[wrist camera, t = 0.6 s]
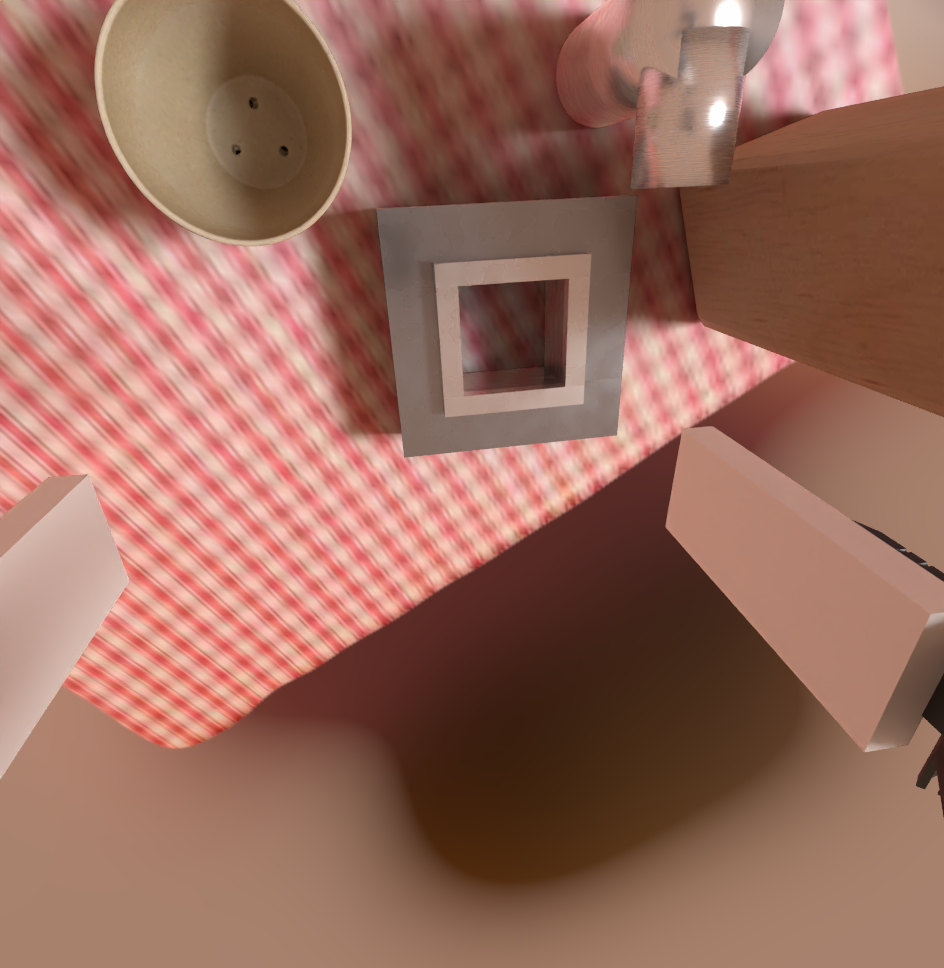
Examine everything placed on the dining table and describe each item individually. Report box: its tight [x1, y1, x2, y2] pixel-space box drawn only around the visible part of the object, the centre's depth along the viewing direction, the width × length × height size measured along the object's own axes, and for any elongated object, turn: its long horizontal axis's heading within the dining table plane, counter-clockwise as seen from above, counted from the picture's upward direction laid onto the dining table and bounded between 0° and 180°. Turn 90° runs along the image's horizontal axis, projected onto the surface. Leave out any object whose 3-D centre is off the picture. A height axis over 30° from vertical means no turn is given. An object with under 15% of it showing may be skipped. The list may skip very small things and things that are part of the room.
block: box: [679, 86, 944, 417], centre depth 26 cm, size 10×10×20 cm
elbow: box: [556, 0, 785, 189], centre depth 25 cm, size 8×5×12 cm, turn 3°
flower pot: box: [94, 0, 352, 246], centre depth 26 cm, size 10×10×7 cm
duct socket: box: [376, 195, 637, 457], centre depth 33 cm, size 14×14×5 cm
